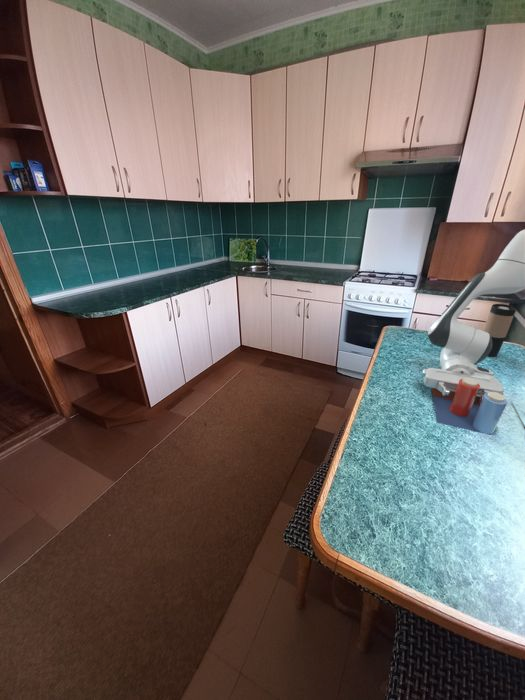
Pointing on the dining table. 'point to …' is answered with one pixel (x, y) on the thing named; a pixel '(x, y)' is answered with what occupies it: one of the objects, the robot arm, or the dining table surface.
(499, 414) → the blue shaker
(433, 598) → the dining table surface
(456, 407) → the cylinder
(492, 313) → the travel mug
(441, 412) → the sorting mat
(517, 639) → the dining table surface
